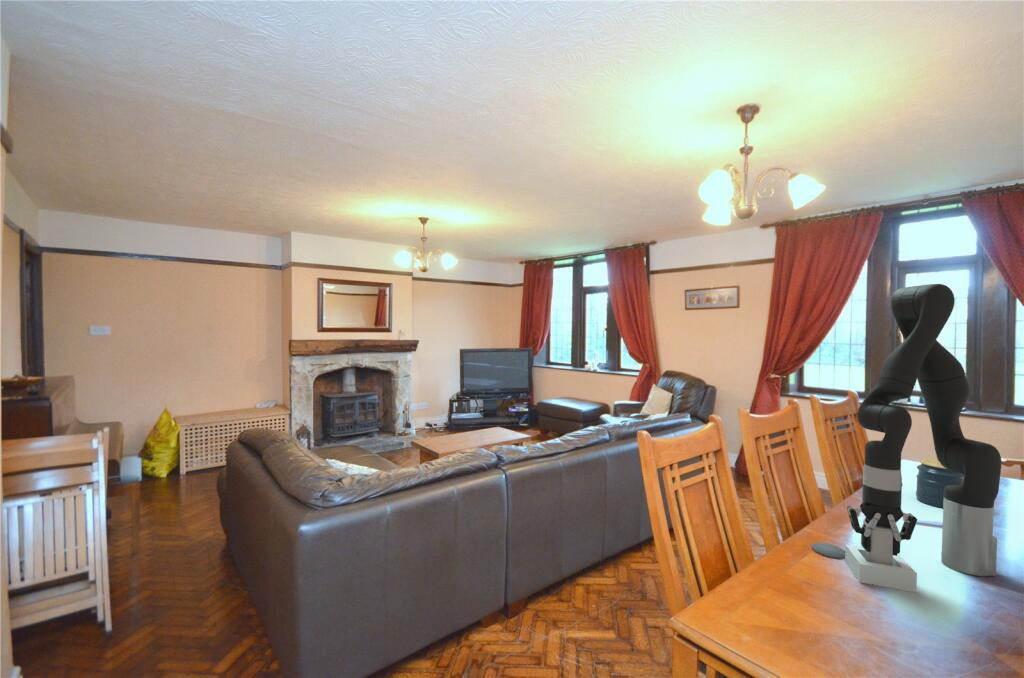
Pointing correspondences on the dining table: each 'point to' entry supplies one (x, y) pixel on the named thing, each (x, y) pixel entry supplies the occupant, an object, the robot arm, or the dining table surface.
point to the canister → (934, 481)
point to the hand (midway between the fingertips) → (879, 551)
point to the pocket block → (880, 570)
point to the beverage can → (881, 545)
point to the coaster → (828, 550)
